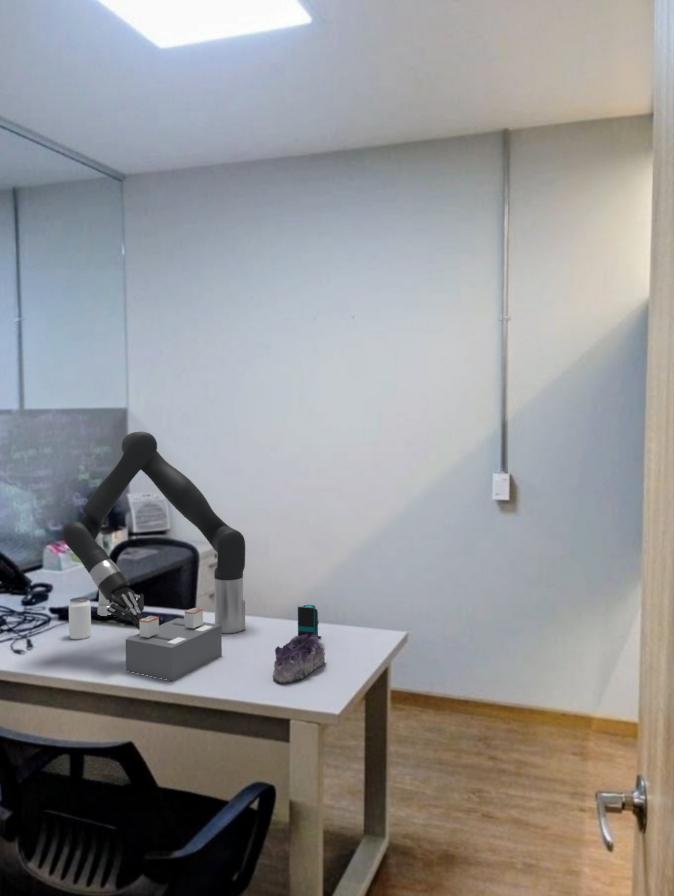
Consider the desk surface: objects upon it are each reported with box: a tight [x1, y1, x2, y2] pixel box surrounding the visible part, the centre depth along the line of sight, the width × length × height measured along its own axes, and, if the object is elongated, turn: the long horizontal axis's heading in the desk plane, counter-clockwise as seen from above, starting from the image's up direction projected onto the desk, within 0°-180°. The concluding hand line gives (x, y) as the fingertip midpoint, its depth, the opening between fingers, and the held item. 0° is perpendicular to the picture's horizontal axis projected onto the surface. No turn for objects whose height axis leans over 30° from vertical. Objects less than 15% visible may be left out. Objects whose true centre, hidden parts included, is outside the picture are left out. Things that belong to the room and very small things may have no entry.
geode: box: [272, 634, 326, 686], centre depth 191 cm, size 20×12×10 cm, turn 160°
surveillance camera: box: [297, 604, 322, 640], centre depth 216 cm, size 6×12×10 cm
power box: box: [125, 617, 223, 682], centre depth 197 cm, size 16×22×9 cm
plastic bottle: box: [96, 589, 112, 616], centre depth 241 cm, size 6×7×20 cm
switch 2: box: [184, 607, 204, 628], centre depth 202 cm, size 3×4×4 cm
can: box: [68, 596, 92, 641], centre depth 221 cm, size 6×6×12 cm
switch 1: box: [139, 615, 160, 638], centre depth 194 cm, size 3×4×4 cm
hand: (143, 627), depth 195 cm, fingers closed
